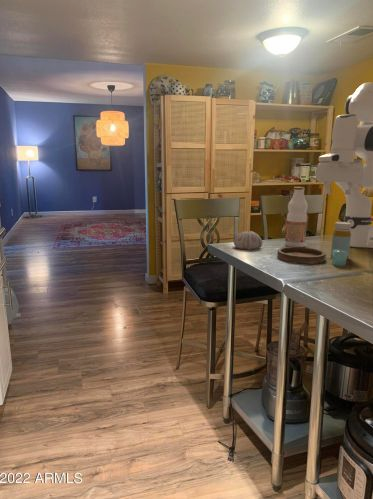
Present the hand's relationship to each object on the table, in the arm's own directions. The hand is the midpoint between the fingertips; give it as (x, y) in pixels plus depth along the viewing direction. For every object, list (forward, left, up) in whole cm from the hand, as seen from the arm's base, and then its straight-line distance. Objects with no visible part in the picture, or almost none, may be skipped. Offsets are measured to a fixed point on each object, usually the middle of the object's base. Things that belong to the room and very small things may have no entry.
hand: (338, 194), depth 149 cm
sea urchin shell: (+10, -37, -28) cm, 48 cm away
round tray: (+6, -10, -27) cm, 30 cm away
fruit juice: (-13, -28, -27) cm, 41 cm away
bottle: (-8, -1, -27) cm, 29 cm away
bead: (+2, +5, -27) cm, 28 cm away
